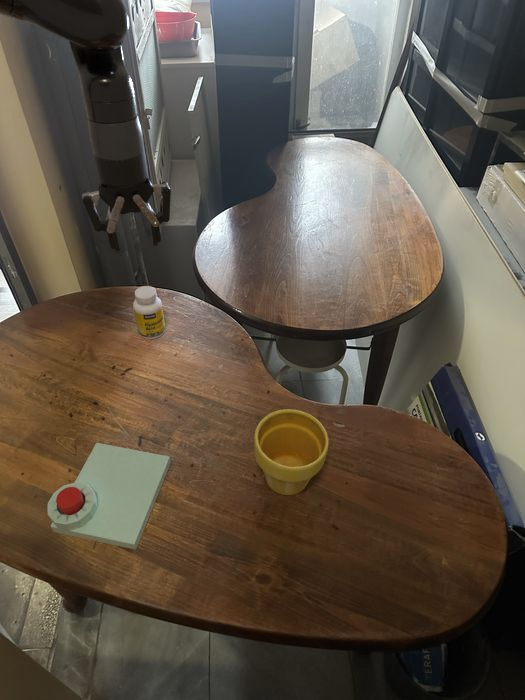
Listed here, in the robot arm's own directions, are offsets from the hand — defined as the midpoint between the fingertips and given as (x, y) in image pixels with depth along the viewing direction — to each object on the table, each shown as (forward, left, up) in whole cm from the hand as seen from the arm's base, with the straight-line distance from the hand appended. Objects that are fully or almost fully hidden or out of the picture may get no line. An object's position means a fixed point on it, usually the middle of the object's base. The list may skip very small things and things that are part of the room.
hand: (136, 246), depth 83 cm
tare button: (+4, -39, -16) cm, 43 cm away
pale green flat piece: (+8, -36, -20) cm, 41 cm away
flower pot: (+32, -27, -20) cm, 46 cm away
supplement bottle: (0, 0, -20) cm, 20 cm away
